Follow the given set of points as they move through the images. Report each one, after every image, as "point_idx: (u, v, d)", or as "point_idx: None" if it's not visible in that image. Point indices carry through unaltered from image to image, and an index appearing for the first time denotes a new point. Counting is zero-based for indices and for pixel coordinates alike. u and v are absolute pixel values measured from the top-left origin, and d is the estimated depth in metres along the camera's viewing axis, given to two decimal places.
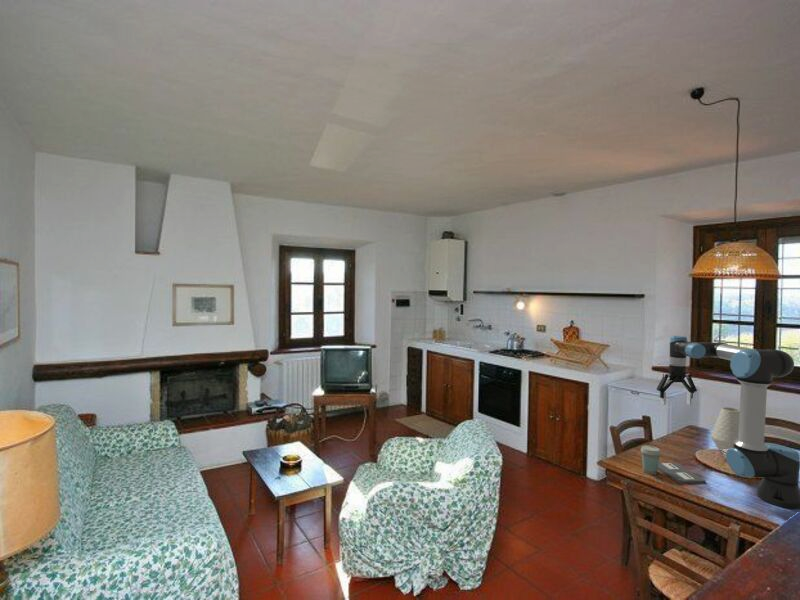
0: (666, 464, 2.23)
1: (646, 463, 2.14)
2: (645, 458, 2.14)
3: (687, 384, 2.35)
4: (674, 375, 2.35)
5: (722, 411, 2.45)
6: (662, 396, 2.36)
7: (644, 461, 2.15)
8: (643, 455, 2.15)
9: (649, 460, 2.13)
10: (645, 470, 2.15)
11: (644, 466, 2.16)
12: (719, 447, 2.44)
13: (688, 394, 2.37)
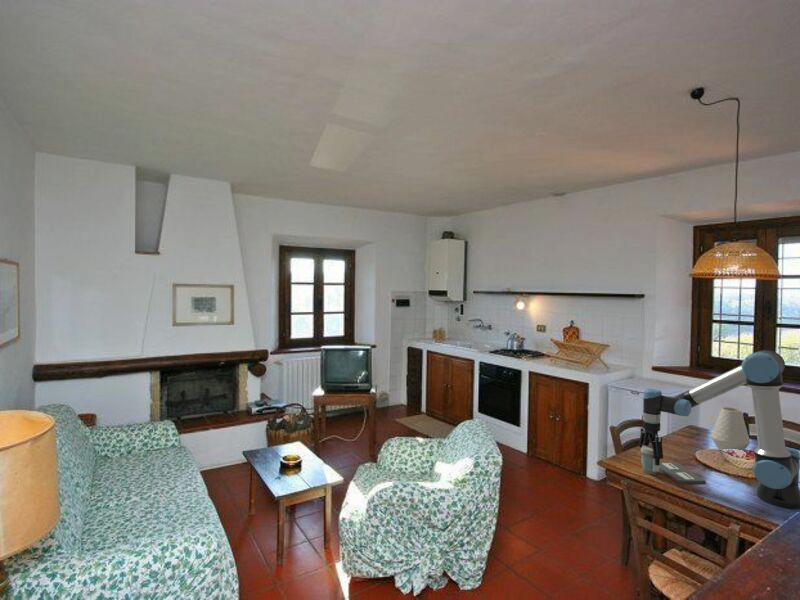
0: (666, 464, 2.23)
1: (646, 463, 2.14)
2: (645, 458, 2.14)
3: (653, 446, 2.12)
4: (646, 430, 2.18)
5: (722, 411, 2.45)
6: None
7: (644, 461, 2.15)
8: (643, 455, 2.15)
9: (649, 460, 2.13)
10: (645, 470, 2.15)
11: (644, 466, 2.16)
12: (719, 447, 2.44)
13: None
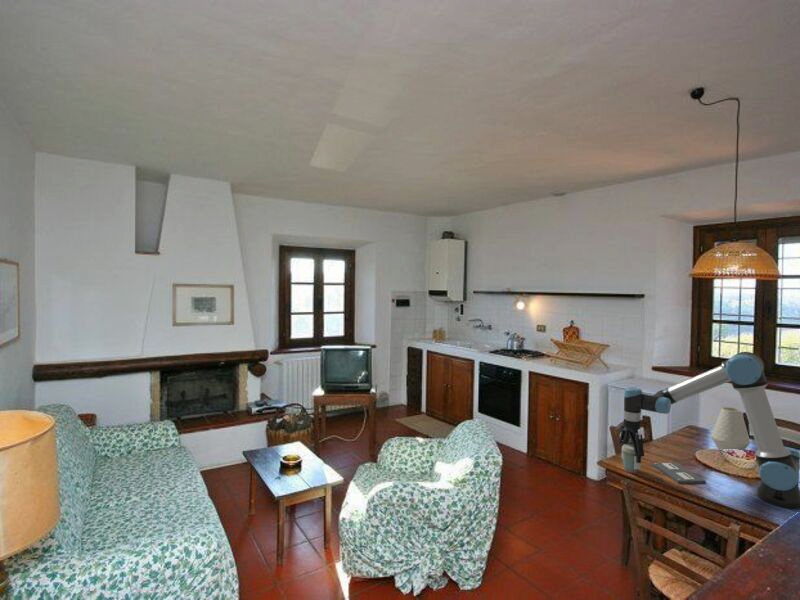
0: (666, 464, 2.23)
1: (627, 462, 2.16)
2: (626, 457, 2.16)
3: (634, 444, 2.13)
4: (627, 428, 2.19)
5: (722, 411, 2.45)
6: None
7: (625, 459, 2.17)
8: (624, 454, 2.17)
9: (629, 458, 2.15)
10: (626, 468, 2.17)
11: (625, 464, 2.17)
12: (719, 447, 2.44)
13: None
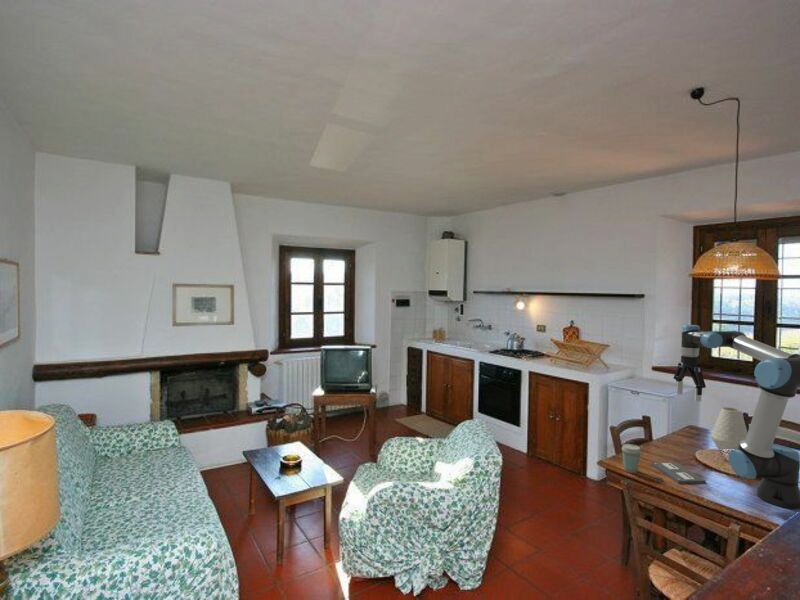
0: (666, 464, 2.23)
1: (627, 462, 2.16)
2: (626, 457, 2.16)
3: (693, 378, 2.18)
4: (684, 365, 2.25)
5: (722, 411, 2.45)
6: None
7: (625, 459, 2.17)
8: (624, 454, 2.17)
9: (629, 458, 2.15)
10: (626, 468, 2.17)
11: (625, 464, 2.17)
12: (719, 447, 2.44)
13: None
